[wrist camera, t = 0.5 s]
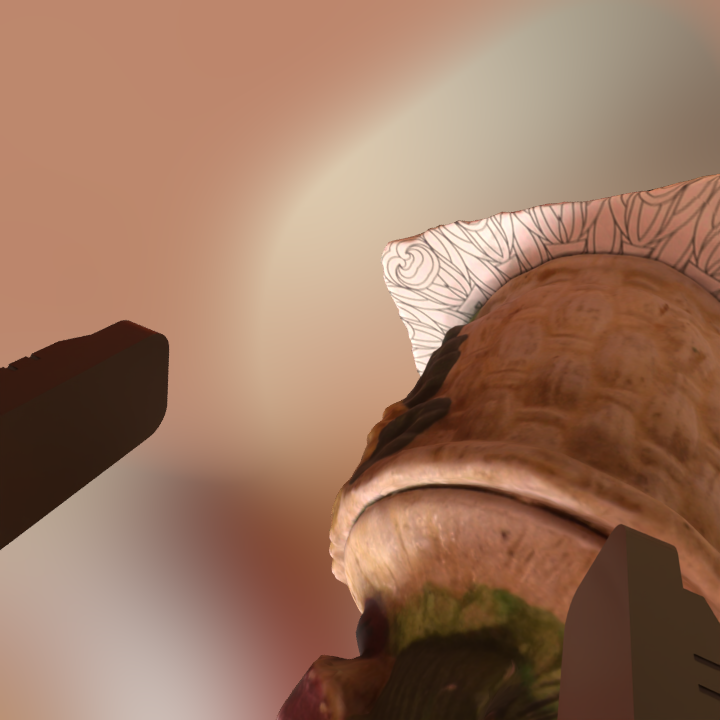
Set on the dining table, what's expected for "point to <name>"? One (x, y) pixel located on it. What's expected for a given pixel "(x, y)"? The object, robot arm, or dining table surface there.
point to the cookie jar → (527, 449)
